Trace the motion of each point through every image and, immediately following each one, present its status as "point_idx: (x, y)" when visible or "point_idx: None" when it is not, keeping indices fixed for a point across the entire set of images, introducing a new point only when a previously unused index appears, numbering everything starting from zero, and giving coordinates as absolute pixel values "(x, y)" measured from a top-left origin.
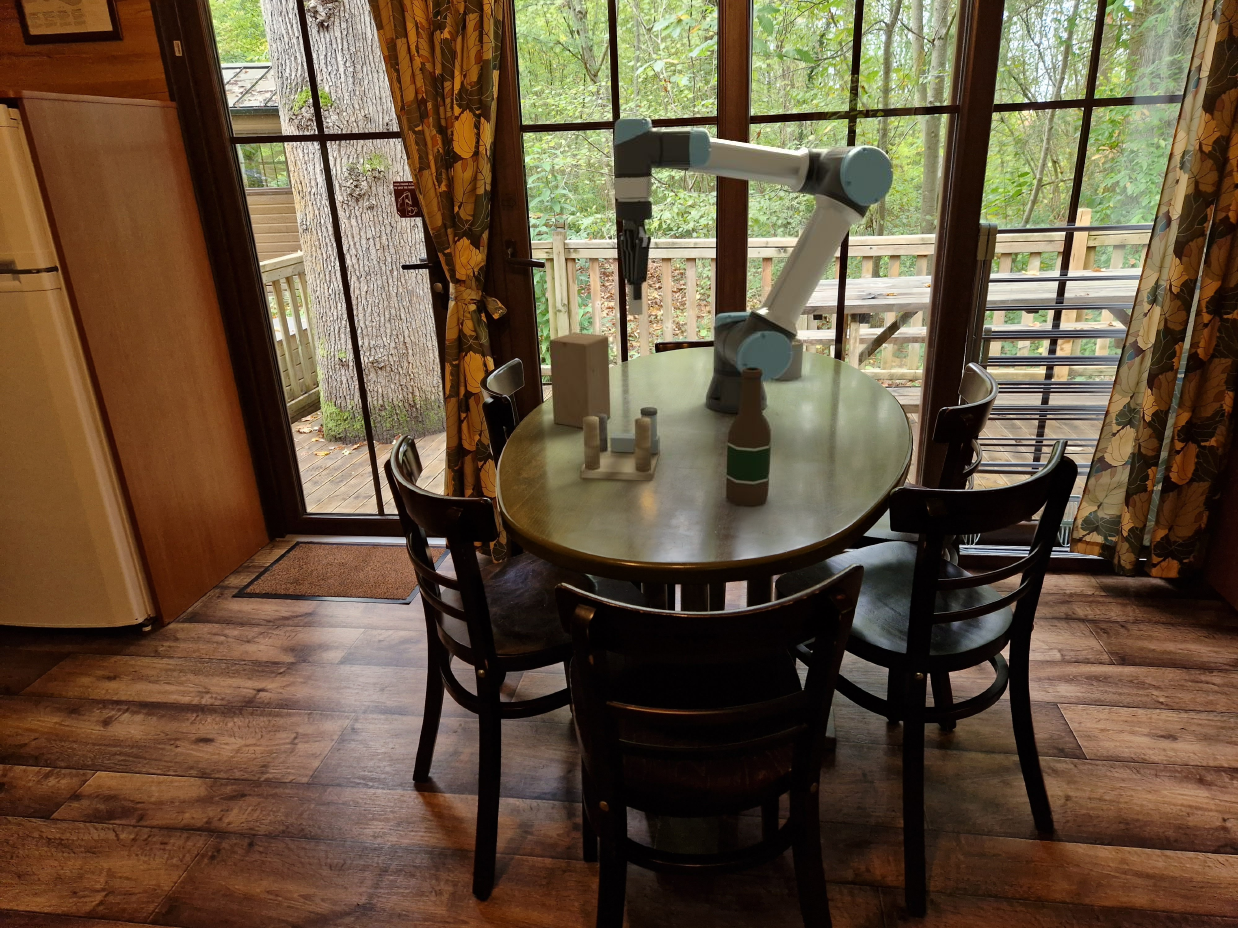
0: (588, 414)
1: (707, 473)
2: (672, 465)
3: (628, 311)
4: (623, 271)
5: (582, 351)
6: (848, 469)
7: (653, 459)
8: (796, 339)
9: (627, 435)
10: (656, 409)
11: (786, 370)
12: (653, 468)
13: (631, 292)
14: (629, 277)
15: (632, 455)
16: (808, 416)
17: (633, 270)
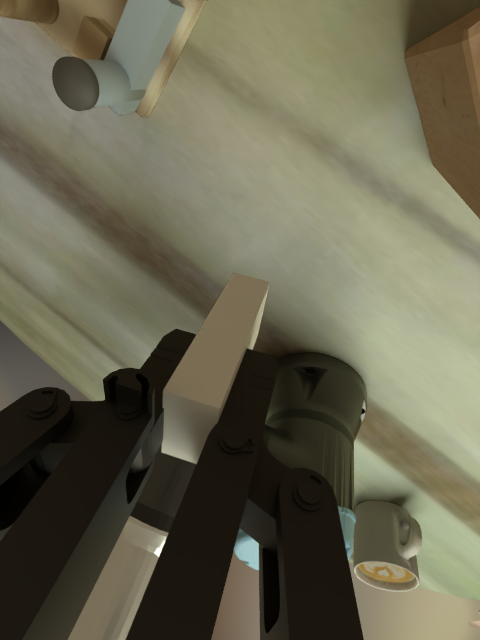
0: (409, 57)
1: (46, 138)
2: None
3: (263, 290)
4: (332, 558)
5: (470, 19)
6: (26, 302)
7: None
8: (382, 587)
9: (139, 34)
10: (68, 104)
11: (361, 518)
12: (43, 29)
13: (187, 357)
14: (195, 467)
15: None
16: None
17: (32, 505)
